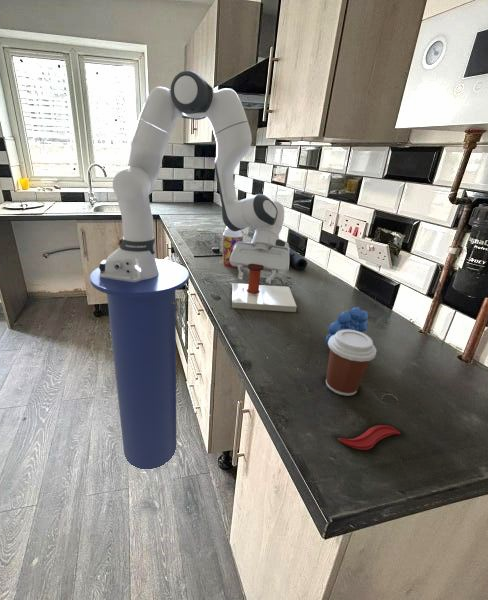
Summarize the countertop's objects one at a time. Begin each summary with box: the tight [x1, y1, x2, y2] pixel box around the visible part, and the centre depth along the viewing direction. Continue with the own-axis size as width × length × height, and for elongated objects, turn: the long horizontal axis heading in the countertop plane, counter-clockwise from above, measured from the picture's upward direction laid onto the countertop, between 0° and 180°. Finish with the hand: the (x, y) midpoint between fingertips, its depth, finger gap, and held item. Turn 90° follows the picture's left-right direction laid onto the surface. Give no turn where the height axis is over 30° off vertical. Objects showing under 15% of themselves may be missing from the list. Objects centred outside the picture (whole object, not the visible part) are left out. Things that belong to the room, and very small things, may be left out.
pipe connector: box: [289, 248, 308, 271], centre depth 141 cm, size 12×5×15 cm
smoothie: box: [222, 226, 244, 269], centre depth 134 cm, size 8×8×20 cm
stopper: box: [247, 264, 264, 294], centre depth 108 cm, size 5×5×11 cm
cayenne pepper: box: [337, 424, 401, 451], centre depth 56 cm, size 12×5×2 cm, turn 93°
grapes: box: [325, 306, 369, 345], centre depth 80 cm, size 12×7×12 cm, turn 109°
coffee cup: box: [325, 329, 378, 397], centre depth 67 cm, size 9×9×12 cm
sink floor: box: [231, 283, 298, 313], centre depth 108 cm, size 20×16×2 cm
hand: (253, 280), depth 107 cm, fingers open, 8 cm apart
